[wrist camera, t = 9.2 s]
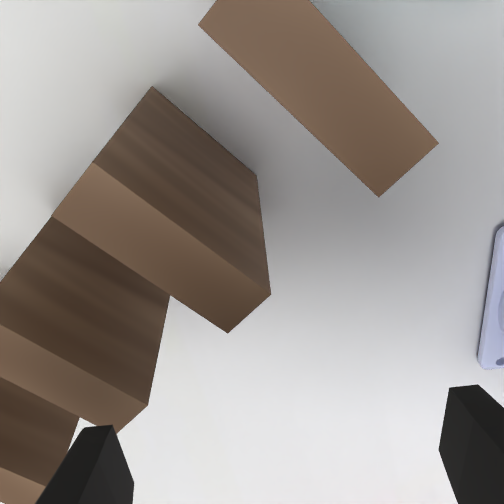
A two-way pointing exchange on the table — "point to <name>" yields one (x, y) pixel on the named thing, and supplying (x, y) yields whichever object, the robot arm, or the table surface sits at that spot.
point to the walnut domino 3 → (80, 328)
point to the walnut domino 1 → (30, 442)
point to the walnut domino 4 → (322, 85)
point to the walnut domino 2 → (175, 212)
